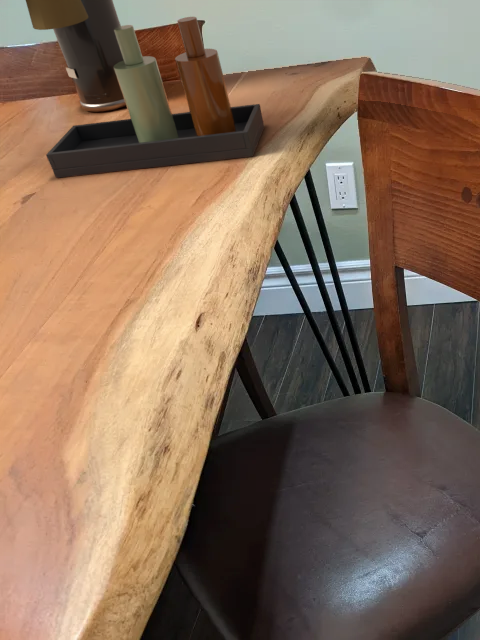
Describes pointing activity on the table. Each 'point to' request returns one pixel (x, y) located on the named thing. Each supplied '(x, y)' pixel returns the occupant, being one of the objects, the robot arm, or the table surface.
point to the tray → (151, 145)
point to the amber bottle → (203, 83)
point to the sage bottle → (143, 90)
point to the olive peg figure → (55, 13)
